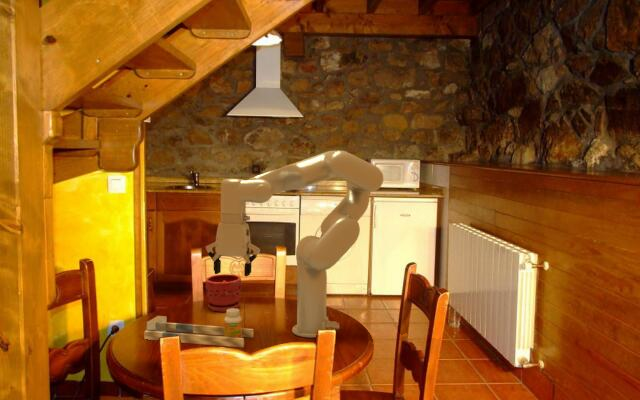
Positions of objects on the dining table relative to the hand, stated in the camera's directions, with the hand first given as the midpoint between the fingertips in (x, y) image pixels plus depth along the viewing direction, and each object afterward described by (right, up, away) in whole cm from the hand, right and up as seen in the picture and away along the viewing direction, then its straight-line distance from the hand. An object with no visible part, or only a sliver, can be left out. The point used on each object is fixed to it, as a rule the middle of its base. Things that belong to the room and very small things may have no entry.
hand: (232, 274), depth 158 cm
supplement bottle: (0, -21, +1) cm, 21 cm away
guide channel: (-11, -20, +3) cm, 23 cm away
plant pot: (-10, -19, +36) cm, 42 cm away
